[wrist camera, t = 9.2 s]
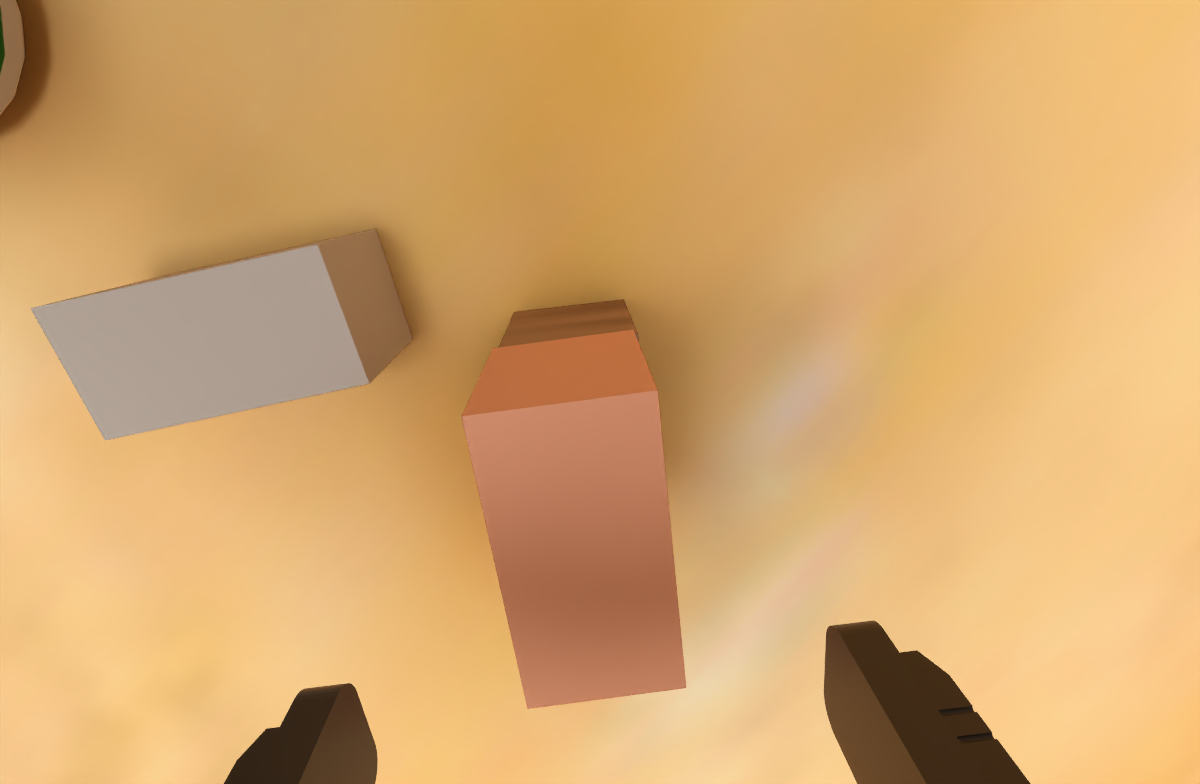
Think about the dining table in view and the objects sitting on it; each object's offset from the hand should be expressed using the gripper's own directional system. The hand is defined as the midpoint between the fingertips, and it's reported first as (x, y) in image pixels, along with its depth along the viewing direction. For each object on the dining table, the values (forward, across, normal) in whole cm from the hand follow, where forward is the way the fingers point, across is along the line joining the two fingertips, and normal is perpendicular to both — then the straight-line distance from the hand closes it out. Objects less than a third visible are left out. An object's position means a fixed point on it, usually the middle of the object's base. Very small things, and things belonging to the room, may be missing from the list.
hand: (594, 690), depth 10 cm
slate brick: (+14, +10, -5) cm, 18 cm away
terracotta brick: (+8, 0, 0) cm, 9 cm away
